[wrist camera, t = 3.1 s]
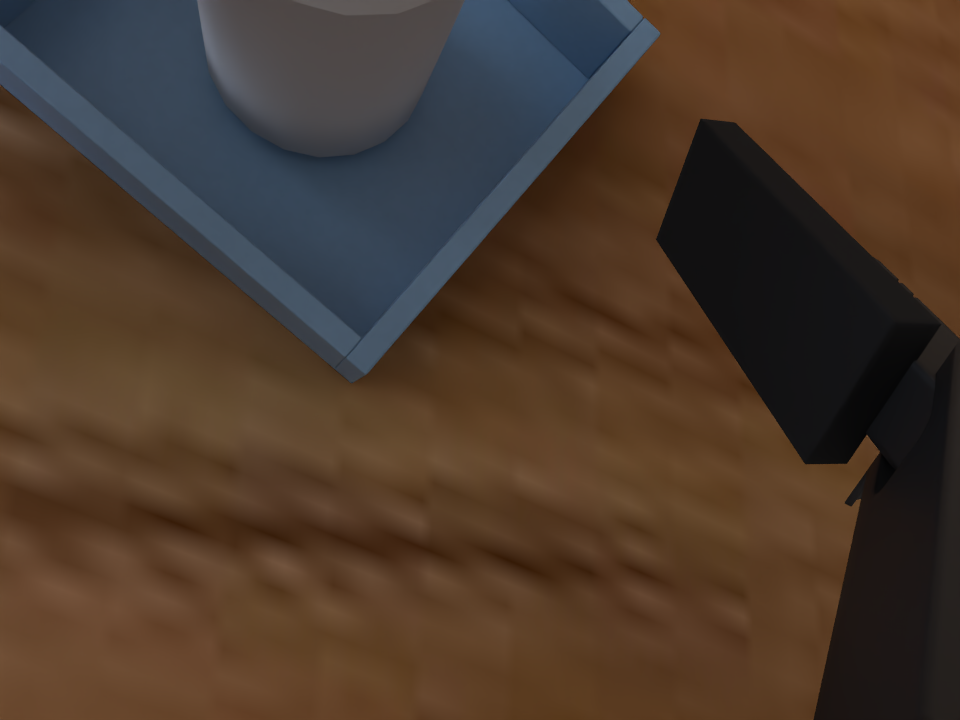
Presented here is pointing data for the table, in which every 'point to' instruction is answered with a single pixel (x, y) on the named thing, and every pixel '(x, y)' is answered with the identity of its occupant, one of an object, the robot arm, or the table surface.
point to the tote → (322, 180)
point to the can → (324, 66)
